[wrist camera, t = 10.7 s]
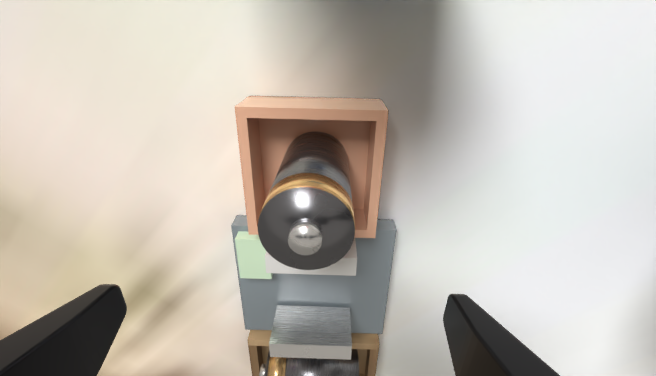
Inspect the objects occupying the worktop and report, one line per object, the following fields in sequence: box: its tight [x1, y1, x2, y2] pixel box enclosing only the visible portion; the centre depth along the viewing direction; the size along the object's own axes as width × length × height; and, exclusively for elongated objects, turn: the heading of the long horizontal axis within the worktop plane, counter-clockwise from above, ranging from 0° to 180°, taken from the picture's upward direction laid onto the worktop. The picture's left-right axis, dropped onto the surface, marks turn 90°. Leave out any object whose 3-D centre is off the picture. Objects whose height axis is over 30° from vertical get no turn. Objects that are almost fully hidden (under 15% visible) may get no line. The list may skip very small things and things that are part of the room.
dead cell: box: [258, 131, 355, 270], centre depth 15 cm, size 4×4×8 cm
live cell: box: [259, 349, 359, 376], centre depth 24 cm, size 7×4×4 cm, turn 89°
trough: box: [248, 330, 379, 376], centre depth 25 cm, size 10×6×2 cm, turn 89°
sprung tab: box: [269, 305, 352, 360], centre depth 21 cm, size 5×1×3 cm, turn 89°
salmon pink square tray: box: [235, 96, 389, 238], centre depth 17 cm, size 7×7×3 cm
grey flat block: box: [231, 215, 396, 334], centre depth 21 cm, size 10×9×4 cm
